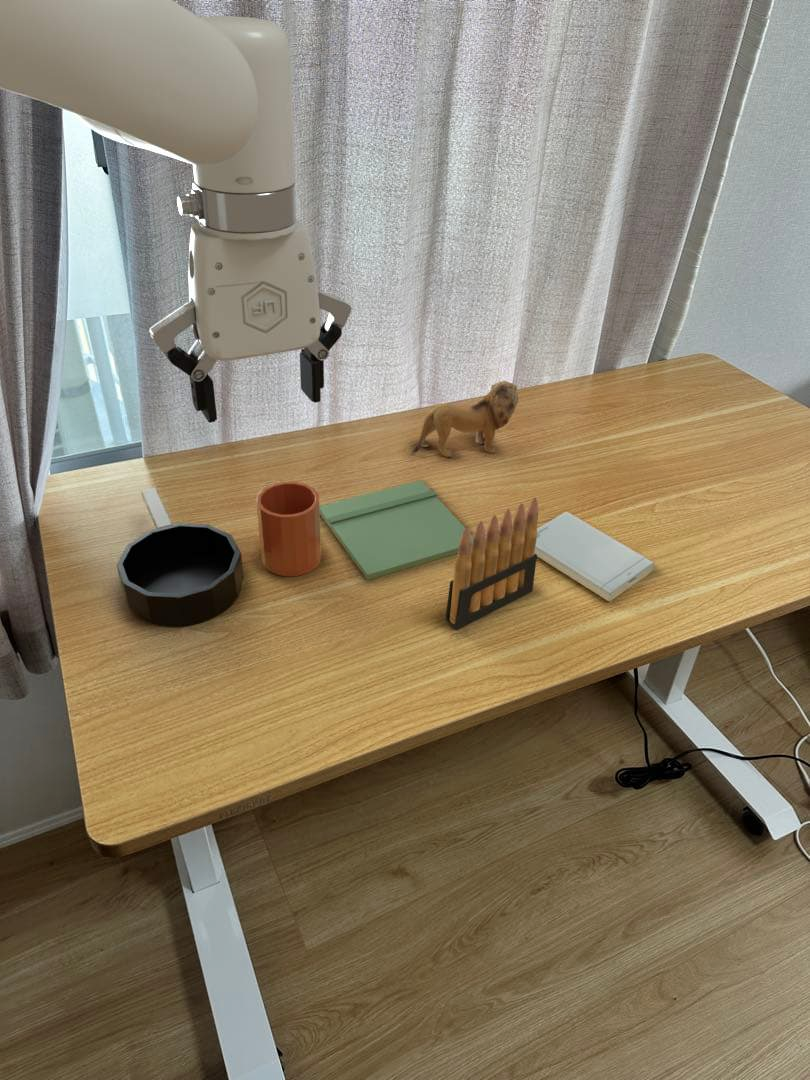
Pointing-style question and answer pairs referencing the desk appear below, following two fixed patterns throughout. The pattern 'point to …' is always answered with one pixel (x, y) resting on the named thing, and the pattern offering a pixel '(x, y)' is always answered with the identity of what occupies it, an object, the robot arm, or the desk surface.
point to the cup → (289, 528)
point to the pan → (179, 570)
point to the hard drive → (590, 556)
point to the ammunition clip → (493, 566)
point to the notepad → (394, 528)
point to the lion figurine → (472, 418)
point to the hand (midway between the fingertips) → (260, 405)
